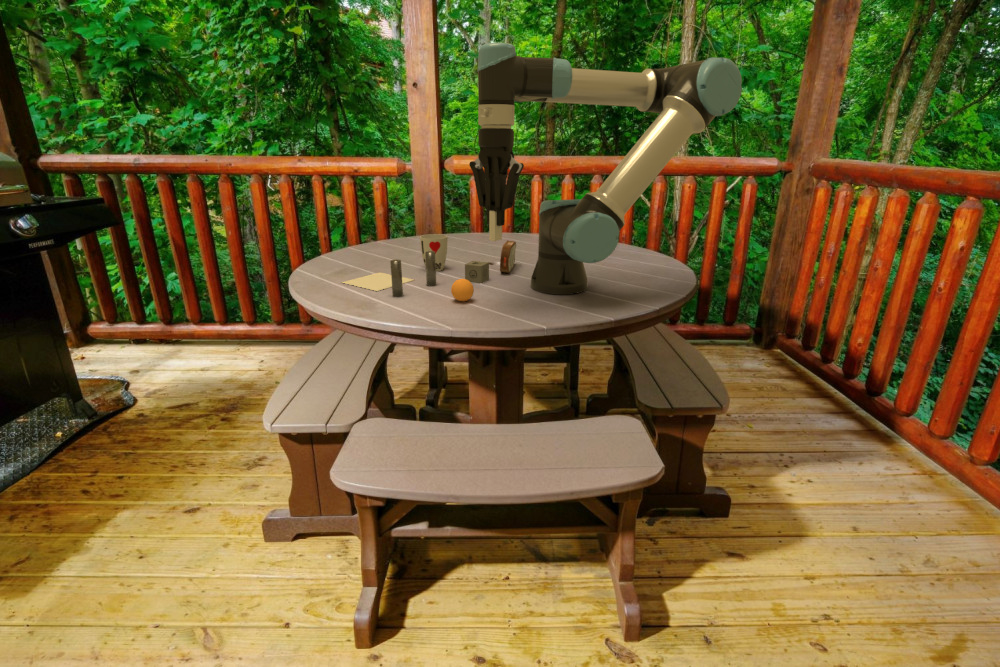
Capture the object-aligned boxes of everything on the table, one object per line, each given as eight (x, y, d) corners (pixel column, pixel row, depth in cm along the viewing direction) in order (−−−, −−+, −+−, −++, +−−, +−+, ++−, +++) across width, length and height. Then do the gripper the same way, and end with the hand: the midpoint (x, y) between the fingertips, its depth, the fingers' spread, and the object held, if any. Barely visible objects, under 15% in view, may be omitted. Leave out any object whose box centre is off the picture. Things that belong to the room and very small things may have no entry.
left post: (405, 295, 134) (403, 260, 131) (397, 297, 132) (395, 262, 129) (397, 293, 135) (395, 259, 132) (390, 295, 133) (388, 260, 130)
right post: (438, 284, 144) (437, 251, 140) (431, 286, 142) (430, 253, 138) (431, 283, 145) (429, 250, 142) (424, 285, 143) (423, 252, 140)
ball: (478, 300, 130) (478, 278, 128) (464, 305, 126) (463, 283, 124) (461, 296, 133) (460, 275, 131) (446, 301, 129) (446, 279, 127)
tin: (507, 264, 167) (507, 237, 164) (516, 264, 167) (517, 238, 164) (498, 275, 153) (499, 247, 150) (509, 276, 153) (509, 247, 150)
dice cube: (473, 277, 151) (472, 260, 149) (489, 279, 149) (488, 262, 147) (465, 282, 147) (464, 264, 145) (481, 284, 145) (481, 266, 143)
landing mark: (414, 280, 148) (414, 279, 147) (376, 291, 137) (376, 290, 137) (379, 272, 155) (379, 272, 155) (341, 283, 144) (341, 282, 144)
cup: (416, 271, 157) (415, 237, 154) (429, 265, 165) (427, 233, 161) (441, 273, 155) (440, 239, 151) (452, 267, 162) (452, 235, 158)
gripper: (460, 127, 111) (462, 239, 119) (511, 127, 104) (510, 246, 112) (482, 127, 117) (482, 234, 125) (532, 127, 110) (529, 240, 118)
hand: (495, 239), depth 119 cm, fingers closed
